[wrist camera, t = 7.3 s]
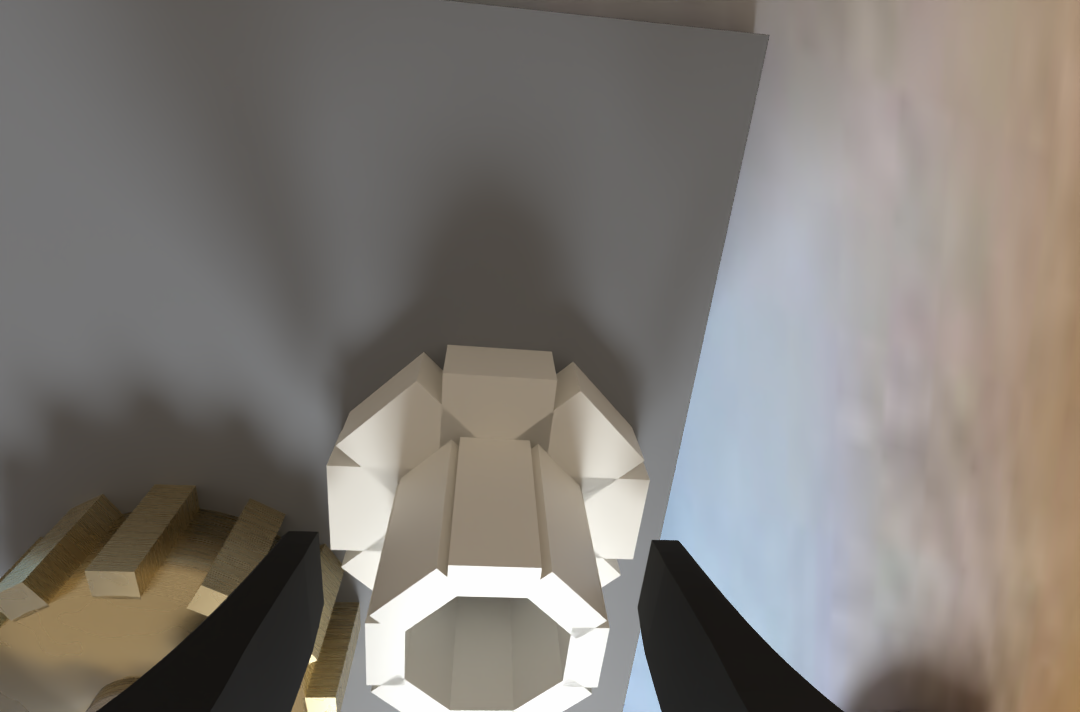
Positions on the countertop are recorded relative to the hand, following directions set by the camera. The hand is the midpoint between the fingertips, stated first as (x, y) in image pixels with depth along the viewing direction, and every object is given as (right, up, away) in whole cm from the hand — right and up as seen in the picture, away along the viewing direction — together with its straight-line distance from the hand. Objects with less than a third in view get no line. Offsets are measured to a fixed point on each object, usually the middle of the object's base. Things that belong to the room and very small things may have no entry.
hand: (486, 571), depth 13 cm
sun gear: (-9, -3, +4) cm, 10 cm away
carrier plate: (-4, +2, +3) cm, 6 cm away
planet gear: (0, +1, +3) cm, 3 cm away
